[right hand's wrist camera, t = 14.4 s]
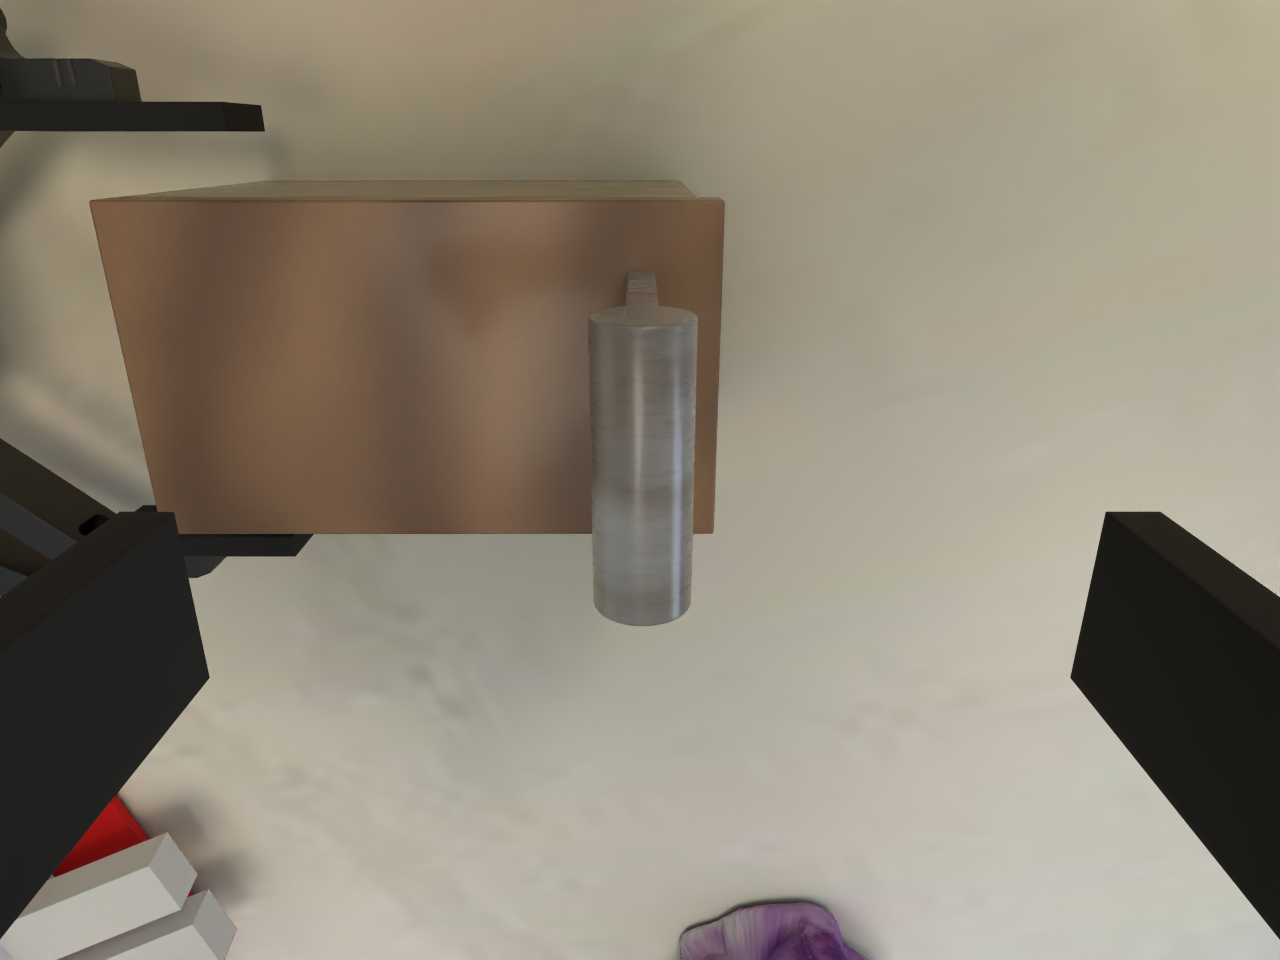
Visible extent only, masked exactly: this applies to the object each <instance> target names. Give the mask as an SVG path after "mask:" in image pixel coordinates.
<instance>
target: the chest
mask: <svg viewBox="0 0 1280 960" xmlns="http://www.w3.org/2000/svg"><path fill="white" fill-rule="evenodd" d="M562 197H696V196H695V195H694V194H693V193H692V192H691V191H690V190H689V189H688V188H687V187H686V186H685V185H684V184H683V183H682V182H680V181H261V182H251V183H242V184H233V185H224V186H215V187H206V188H197V189H188V190H179V191H170V192H161V193H152V194H143V195H134V196H125V197H118V198H562Z"/></svg>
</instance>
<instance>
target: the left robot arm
mask: <svg viewBox="0 0 1280 960" xmlns="http://www.w3.org/2000/svg"><path fill="white" fill-rule="evenodd" d="M6 29H7V23H6V18H5V16H4V13H3V11H2V10H1V9H0V147H1V146H2V145H3V144H4V143H5V141H6V140H7V139H8V138H9V137H10V136H11V134H12V133H13V132H14V131H265V129H264V122H263V116H262V109H261V105H250V104H239V103H228V102H141V97H140V92H139V86H138V81H137V76H136V71H135V70H134V69H132V68H129V67H127V66H124V65H122V64H119V63H116V62H109V61H102V60H96V59H26V58H24V57H23V56H21V55H20V54H19V53H18V52H17V51H16V50H15V49H14V48H13V46H12V45H11V43H10V42H9V40H8V38H7V36H6V35H5V33H6ZM135 512H158V511H157V506H156V505H143V506H142V507H140V508H139V509H138V510H136V511H135ZM115 515H116V513H114V512H113V511H111V510H110V509H108V508H107V507H105V506H104V505H102V504H100V503H99V502H97V501H96V500H94V499H93V498H91V497H90V496H88V495H87V494H85V493H84V492H82V491H80V490H79V489H77V488H76V487H74V486H73V485H71V484H70V483H68V482H67V481H65V480H64V479H62V478H61V477H59V476H57V475H56V474H54V473H53V472H51V471H50V470H48V469H47V468H45V467H44V466H42V465H41V464H39V463H37V462H36V461H34V460H33V459H31V458H30V457H28V456H27V455H25V454H24V453H22V452H21V451H19V450H17V449H16V448H14V447H13V446H11V445H10V444H8V443H7V442H5V441H4V440H2V439H1V438H0V596H3V595H4V594H6V593H7V592H8V591H10V590H11V589H13V588H14V587H15V586H17V585H18V584H20V583H21V582H22V581H24V580H25V579H27V578H28V577H29V576H31V575H32V574H34V573H35V572H36V571H38V570H39V569H41V568H42V567H43V566H45V565H46V564H48V563H49V562H50V561H52V560H53V559H54V558H56V557H57V556H59V555H60V554H61V553H63V552H64V551H66V550H67V549H68V548H70V547H71V546H73V545H74V544H75V543H77V542H78V541H80V540H81V539H82V538H84V537H85V536H87V535H88V534H89V533H91V532H92V531H94V530H95V529H96V528H98V527H99V526H101V525H102V524H103V523H105V522H106V521H108V520H109V519H110V518H112V517H113V516H115ZM312 536H313V534H179V537H180V542H181V546H182V551H183V556H184V560H185V565H186V570H187V574H188V578H198V577H201V576H203V575H206V574H208V573H211V572H212V571H213V570H214V569H215V568H216V567H217V566H218V565H219V564H220V563H221V562H222V561H223V560H224V559H225V558H226V557H227V556H296V555H297V554H298V553H299V551H300V550H301V549H302V548H303V547H304V545H305V544H306V543H307V542H308V540H309V539H310V538H311V537H312Z"/></svg>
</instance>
